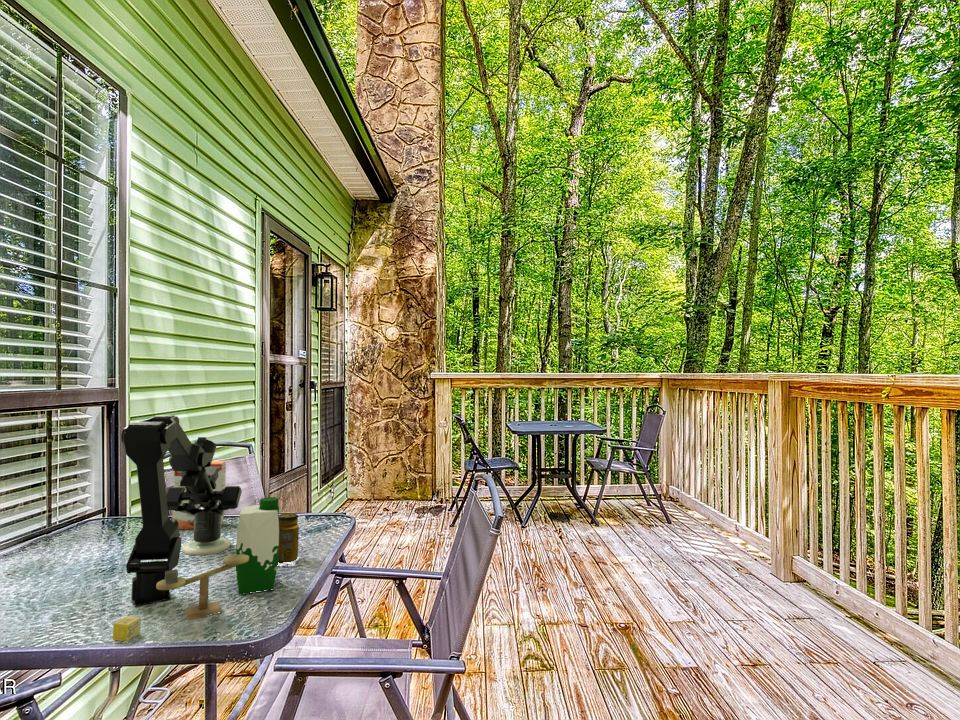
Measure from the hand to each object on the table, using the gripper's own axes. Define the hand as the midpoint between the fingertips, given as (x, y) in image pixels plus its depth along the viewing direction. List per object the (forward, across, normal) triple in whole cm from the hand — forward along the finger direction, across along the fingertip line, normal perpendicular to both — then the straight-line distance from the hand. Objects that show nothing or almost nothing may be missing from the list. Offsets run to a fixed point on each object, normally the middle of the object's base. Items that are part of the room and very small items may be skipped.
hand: (209, 514), depth 148 cm
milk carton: (-16, -21, +30) cm, 39 cm away
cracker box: (+22, +10, -9) cm, 26 cm away
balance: (-25, -13, +38) cm, 48 cm away
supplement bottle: (+4, 0, +6) cm, 7 cm away
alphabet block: (-30, -3, +45) cm, 54 cm away
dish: (+6, 0, +7) cm, 9 cm away
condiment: (-4, -24, +18) cm, 30 cm away
